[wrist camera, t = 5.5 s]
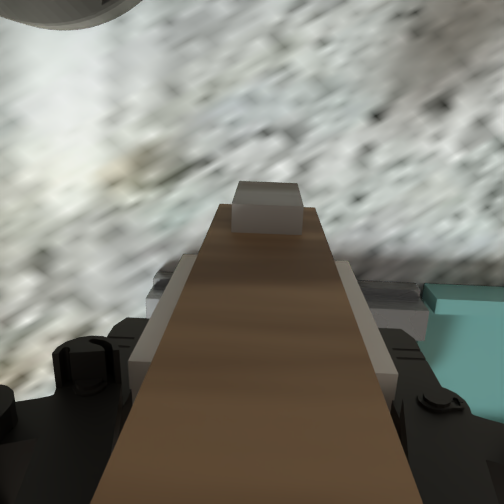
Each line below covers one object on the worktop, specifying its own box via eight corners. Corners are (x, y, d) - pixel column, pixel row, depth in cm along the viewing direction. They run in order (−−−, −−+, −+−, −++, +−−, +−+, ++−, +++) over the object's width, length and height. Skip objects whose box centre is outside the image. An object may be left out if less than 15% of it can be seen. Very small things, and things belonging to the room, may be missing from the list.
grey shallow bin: (157, 271, 31) (145, 290, 28) (415, 282, 31) (430, 303, 28) (162, 422, 35) (152, 452, 32) (391, 433, 35) (403, 466, 32)
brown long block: (220, 180, 20) (-10, 606, 4) (316, 184, 19) (531, 638, 3) (218, 310, 22) (68, 961, 6) (306, 314, 21) (413, 990, 5)
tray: (424, 283, 31) (437, 299, 29) (585, 290, 31) (611, 306, 28) (400, 434, 35) (409, 458, 32) (543, 441, 35) (563, 467, 32)
